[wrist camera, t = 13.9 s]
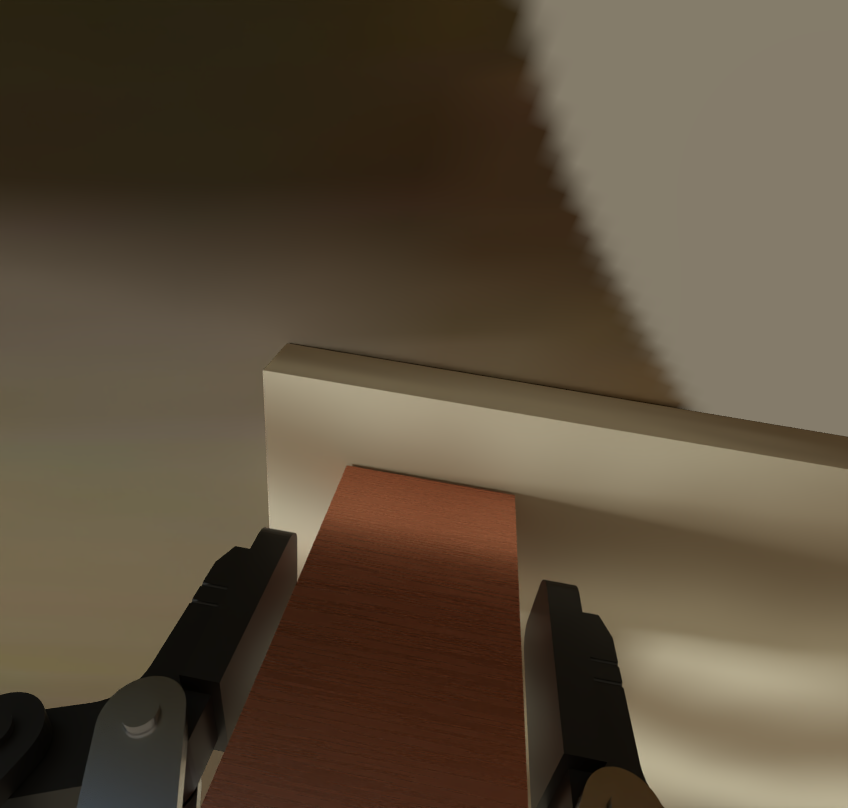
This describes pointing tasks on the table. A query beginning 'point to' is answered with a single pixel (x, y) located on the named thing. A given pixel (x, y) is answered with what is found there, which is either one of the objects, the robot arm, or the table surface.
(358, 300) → the table surface
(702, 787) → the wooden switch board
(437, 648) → the copper cube on rod
